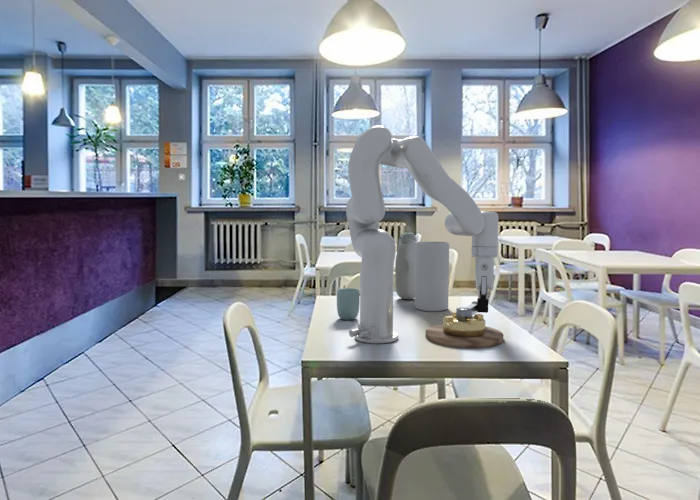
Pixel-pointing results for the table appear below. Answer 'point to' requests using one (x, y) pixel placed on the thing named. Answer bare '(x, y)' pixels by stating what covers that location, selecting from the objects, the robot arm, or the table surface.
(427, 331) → the lever base
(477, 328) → the grey lever
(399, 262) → the glass bottle
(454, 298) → the table surface
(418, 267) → the cylinder vase
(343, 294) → the cup
